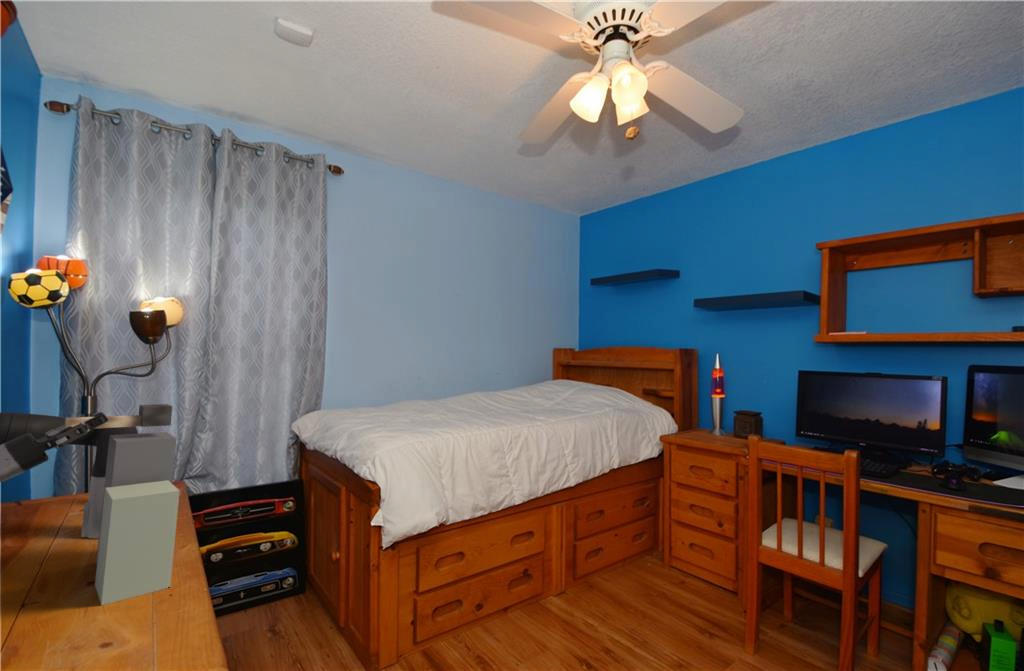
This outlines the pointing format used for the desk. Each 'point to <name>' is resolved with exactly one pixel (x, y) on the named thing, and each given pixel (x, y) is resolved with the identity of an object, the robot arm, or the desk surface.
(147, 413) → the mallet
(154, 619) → the desk surface
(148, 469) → the stand
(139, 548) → the stand
